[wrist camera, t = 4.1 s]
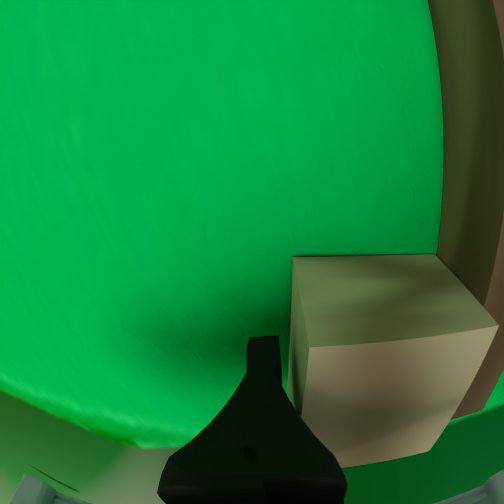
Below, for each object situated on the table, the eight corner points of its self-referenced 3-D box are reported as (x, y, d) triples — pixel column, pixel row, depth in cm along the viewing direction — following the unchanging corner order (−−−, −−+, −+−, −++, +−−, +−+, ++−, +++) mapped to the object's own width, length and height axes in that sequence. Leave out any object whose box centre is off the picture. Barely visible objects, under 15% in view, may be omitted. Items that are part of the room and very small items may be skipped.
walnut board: (460, -53, 6) (509, -83, 2) (454, 356, 14) (482, 410, 11) (409, -67, 6) (449, -109, 3) (414, 363, 14) (438, 423, 11)
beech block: (434, 254, 12) (499, 325, 7) (399, 374, 15) (429, 450, 10) (292, 257, 12) (309, 347, 8) (287, 384, 15) (293, 471, 10)
